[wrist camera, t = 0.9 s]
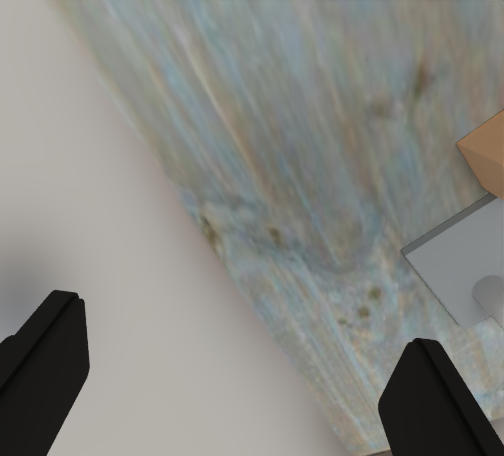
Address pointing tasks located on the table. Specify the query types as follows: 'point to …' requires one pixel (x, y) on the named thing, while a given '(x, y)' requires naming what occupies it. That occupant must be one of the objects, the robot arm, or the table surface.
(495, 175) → the hollow square tube
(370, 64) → the table surface
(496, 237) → the grey peg stand
